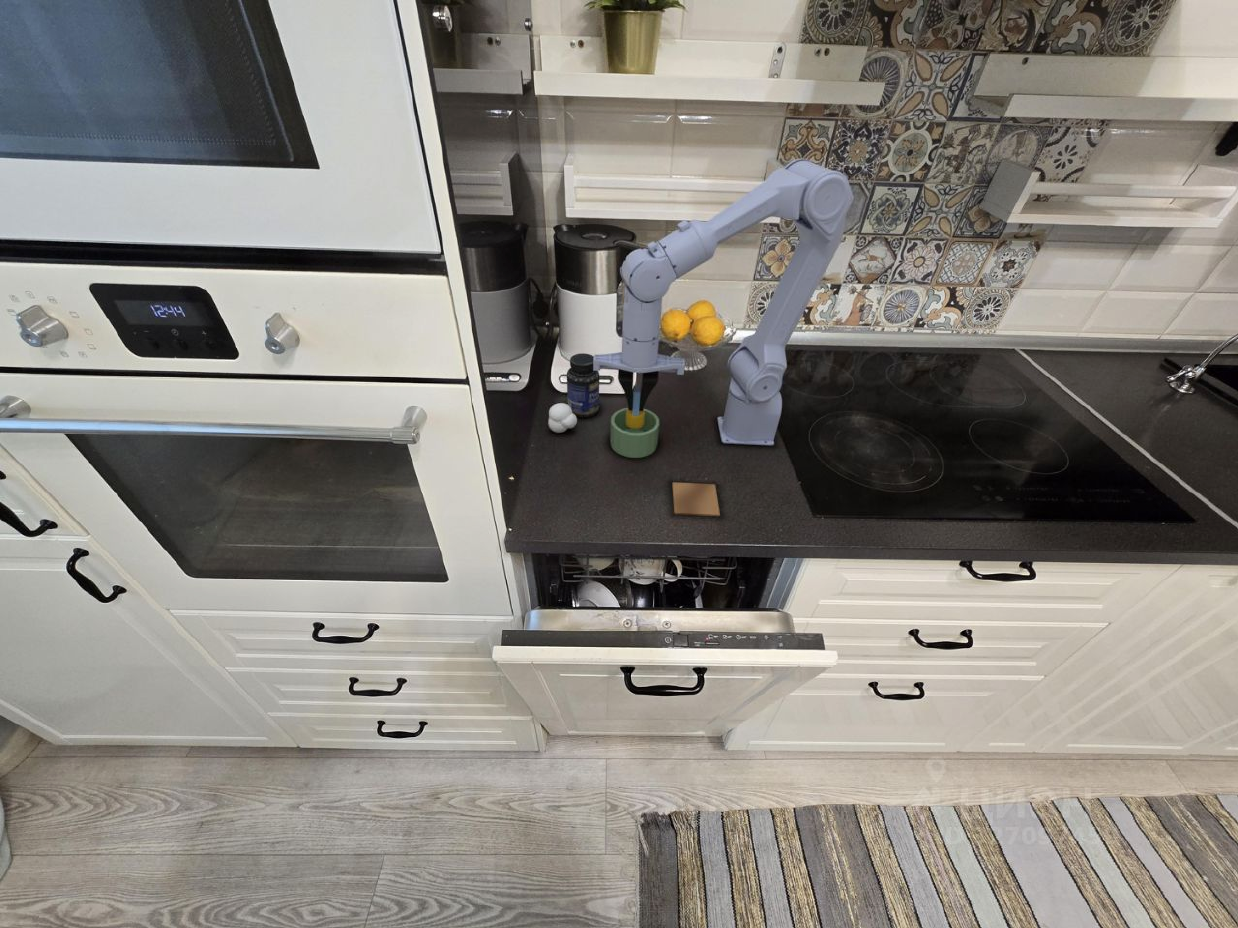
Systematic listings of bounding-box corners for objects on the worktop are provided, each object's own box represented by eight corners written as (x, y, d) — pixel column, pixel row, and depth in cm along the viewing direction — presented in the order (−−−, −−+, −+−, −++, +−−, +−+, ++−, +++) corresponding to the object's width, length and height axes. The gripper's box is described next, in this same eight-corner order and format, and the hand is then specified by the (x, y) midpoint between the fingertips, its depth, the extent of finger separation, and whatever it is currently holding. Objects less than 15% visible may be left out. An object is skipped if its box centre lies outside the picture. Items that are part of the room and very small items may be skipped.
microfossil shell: (553, 421, 97) (551, 396, 93) (580, 425, 96) (580, 400, 93) (546, 435, 93) (544, 410, 90) (574, 439, 93) (574, 413, 89)
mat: (714, 486, 84) (715, 484, 84) (719, 516, 79) (719, 514, 79) (672, 484, 84) (672, 482, 84) (674, 514, 79) (674, 512, 79)
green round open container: (656, 430, 96) (658, 408, 92) (657, 459, 89) (659, 436, 86) (611, 428, 96) (612, 406, 93) (609, 456, 89) (610, 433, 86)
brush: (643, 418, 91) (646, 384, 87) (643, 429, 89) (646, 395, 84) (625, 418, 91) (627, 383, 87) (625, 428, 89) (627, 394, 84)
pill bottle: (594, 420, 98) (595, 369, 90) (563, 416, 98) (561, 365, 91) (602, 403, 102) (602, 353, 95) (572, 399, 103) (571, 349, 96)
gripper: (686, 324, 82) (677, 397, 91) (595, 320, 82) (595, 393, 91) (689, 345, 76) (679, 419, 85) (592, 340, 77) (592, 415, 85)
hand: (635, 407), depth 88 cm, fingers closed on brush
